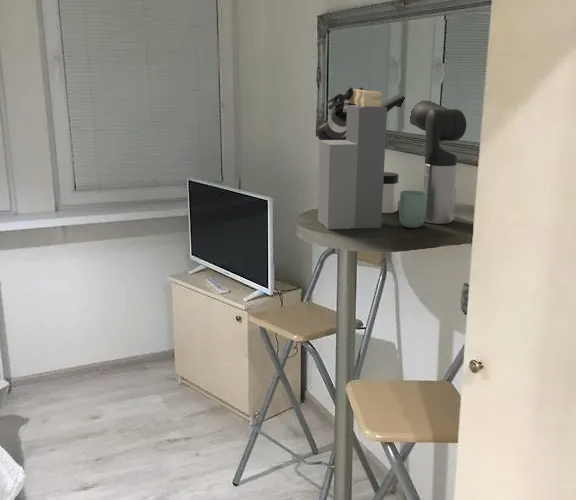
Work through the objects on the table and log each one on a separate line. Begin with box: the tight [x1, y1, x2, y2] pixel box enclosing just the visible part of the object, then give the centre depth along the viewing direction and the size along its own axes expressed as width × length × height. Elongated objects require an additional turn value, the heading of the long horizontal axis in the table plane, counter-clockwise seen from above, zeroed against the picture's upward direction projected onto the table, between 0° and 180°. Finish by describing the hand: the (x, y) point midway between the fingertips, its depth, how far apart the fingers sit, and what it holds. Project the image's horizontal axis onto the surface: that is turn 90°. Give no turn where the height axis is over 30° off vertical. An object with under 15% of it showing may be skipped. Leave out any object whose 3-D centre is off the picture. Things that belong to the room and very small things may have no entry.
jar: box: [382, 171, 400, 214], centre depth 210 cm, size 9×8×12 cm
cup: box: [398, 190, 427, 229], centre depth 189 cm, size 8×8×10 cm
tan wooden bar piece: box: [346, 88, 382, 107], centre depth 189 cm, size 21×5×4 cm, turn 11°
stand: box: [317, 105, 388, 230], centre depth 188 cm, size 12×16×34 cm
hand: (356, 90), depth 193 cm, fingers closed on tan wooden bar piece, 2 cm apart
